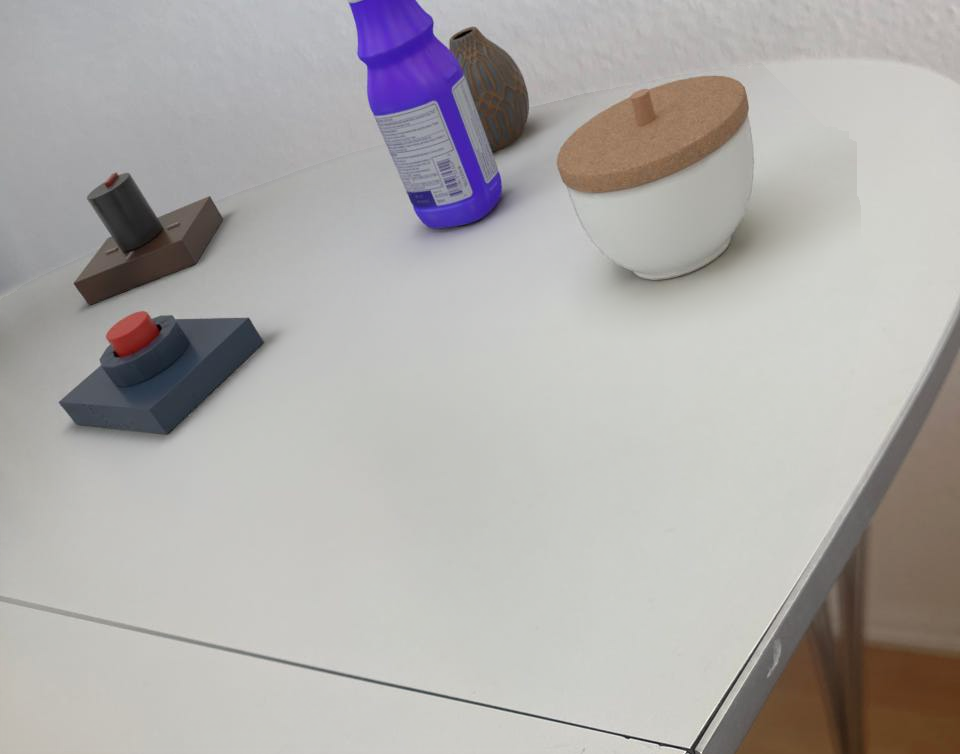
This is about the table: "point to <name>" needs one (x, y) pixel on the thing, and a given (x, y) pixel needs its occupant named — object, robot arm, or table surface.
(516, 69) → the vase
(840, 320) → the table surface
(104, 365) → the button box
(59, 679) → the table surface
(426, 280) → the table surface
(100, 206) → the dial knob
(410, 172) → the bottle
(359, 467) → the table surface
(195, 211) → the panel
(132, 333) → the button
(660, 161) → the trinket box
